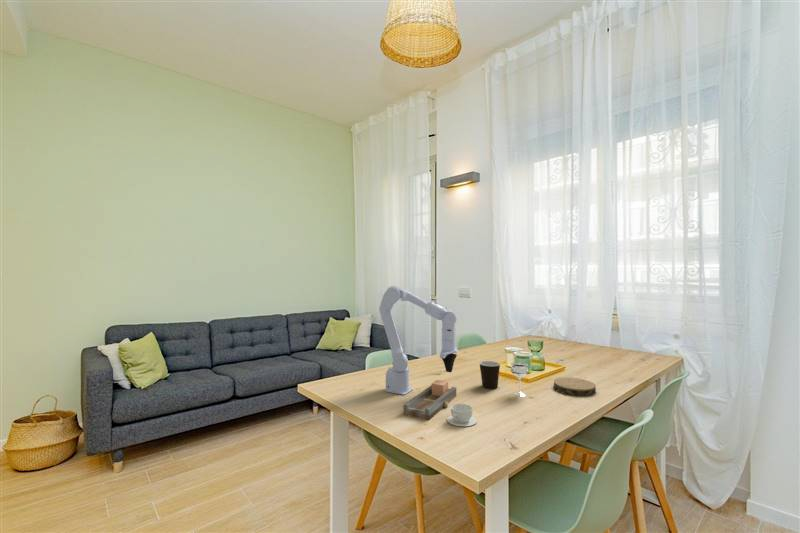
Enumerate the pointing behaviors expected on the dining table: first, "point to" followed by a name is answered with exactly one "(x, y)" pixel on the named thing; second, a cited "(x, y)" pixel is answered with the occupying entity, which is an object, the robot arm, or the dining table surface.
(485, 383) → the coffee mug
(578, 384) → the wood slice
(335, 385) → the dining table surface
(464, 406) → the teacup
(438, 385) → the salmon orange block
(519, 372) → the wineglass
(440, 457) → the dining table surface
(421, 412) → the grey rectangular tray
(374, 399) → the dining table surface
